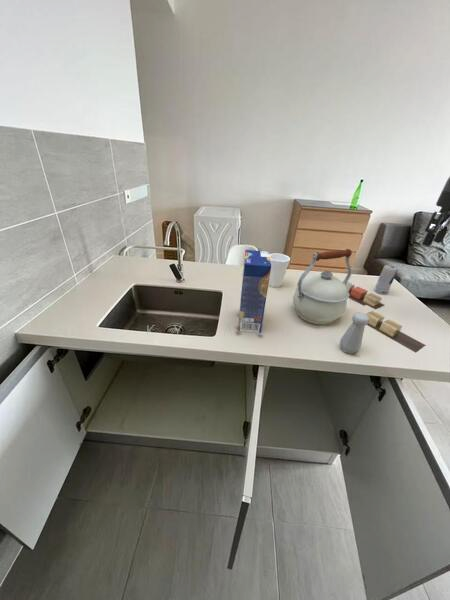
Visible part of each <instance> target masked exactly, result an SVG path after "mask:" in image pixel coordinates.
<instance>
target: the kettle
mask: <svg viewBox="0 0 450 600" xmlns="http://www.w3.org/2000/svg"><path fill="white" fill-rule="evenodd" d="M352 251H353V250H352V249H350V248H345V250H342V249H336V250H329V251H328V250H327V251H323V252H319V251H318V252H314V253H313V255H312V259H311V263H310V265H309V266H308V267H307V268H306V269H305V270H304V272H303V273H302V274H301V275H300V276H299V278H298V281H297V283H296V287H297V288H296V289H295V291H294V293H293V296H292V303H293V305H294V308H295V311H296V314H297V315H298V316H299V317H300V318H301V319H302V320H304V321H306V322H308V323H310V324H315V325H324V324H325V325H326V324H330V323H333V322H334V321H335V320H337V319H339V318H341V317H342V316H343V315H344V314H345V311H346V309H347V305H348V303H347V301H348V299H350V298H349V292H348V291H349V290H350V288H351V287H352V286H353V284H354V283H352V282H350V283H347V282H349V280H350V278H351V276H352V273H353V271H352V267H351V263H350V258H351V256H352V253H353V252H352ZM344 257H345V260H344V261H345V264H346V268H347V274H346V276H345V278H344V280H343V281H342V280H341V279H339V278H338V277H336V276H334V275H333V273H332V272H331V271H330V270H328V269H327V270H323V271H321V272H320V273H318V272H317V273H316V272H315V273H310V271H311V270H312V269H313V268H314V267H315V265H316V262H318V261H320V260H335V259H340V258H344ZM309 273H310V274H309ZM346 283H347V285H346ZM345 285H346V286H345Z"/></svg>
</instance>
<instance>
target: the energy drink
mask: <svg viewBox="0 0 450 600" xmlns="http://www.w3.org/2000/svg"><path fill="white" fill-rule="evenodd" d="M398 271H399V268H398V267H397V266H395V265H391V264H385V265H384V266H383V268H382V270H381V273H380V274H379V277H378V279H377V282H376V284H375V286H374V292H375V293H377V294H379V295H387V294H388V293H389V291H390V288H391V286H392V284H393V282H394V280H395V278H396V275H397V273H398Z"/></svg>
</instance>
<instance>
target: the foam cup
mask: <svg viewBox="0 0 450 600" xmlns="http://www.w3.org/2000/svg"><path fill="white" fill-rule="evenodd" d="M269 256H270V261H271V272H270V278H269V284H268V287H271V288H280V287H281V286H282V285H283V282H284V278H285V276H286V273H287V270H288V267H289V265H290V262H291V258H290V256H288V255H287V254H283V253H278V252H277V253H276V252H275V253H274V252H273V253H269Z"/></svg>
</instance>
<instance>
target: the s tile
mask: <svg viewBox="0 0 450 600" xmlns="http://www.w3.org/2000/svg"><path fill="white" fill-rule="evenodd" d="M367 294H368V290H367V289H364V288H362V287H360V286H354V288H353V289H352V290H351V292H350V295H351V296H353V297H355V298H357V299H359V300H360V299H362V298H364V297H365V295H367Z"/></svg>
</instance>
